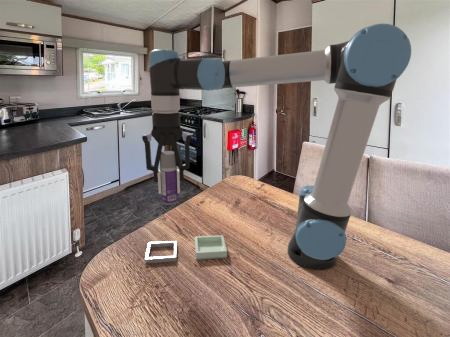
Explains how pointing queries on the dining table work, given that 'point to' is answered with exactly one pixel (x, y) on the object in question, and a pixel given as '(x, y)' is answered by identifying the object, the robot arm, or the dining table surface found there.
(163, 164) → the container
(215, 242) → the tray
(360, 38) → the robot arm
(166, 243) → the collar
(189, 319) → the dining table surface
